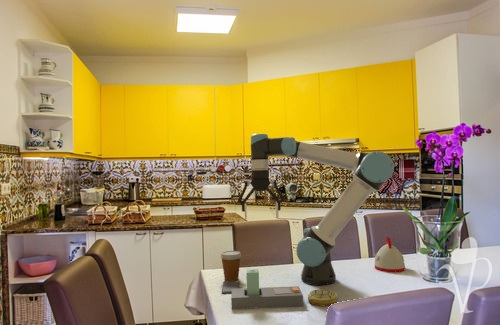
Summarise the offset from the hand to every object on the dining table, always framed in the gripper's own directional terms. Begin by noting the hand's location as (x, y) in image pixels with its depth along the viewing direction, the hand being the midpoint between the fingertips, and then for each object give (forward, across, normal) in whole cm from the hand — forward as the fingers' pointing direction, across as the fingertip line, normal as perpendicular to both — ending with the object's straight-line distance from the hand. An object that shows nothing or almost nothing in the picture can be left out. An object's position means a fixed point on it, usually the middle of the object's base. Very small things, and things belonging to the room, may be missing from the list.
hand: (261, 218), depth 155 cm
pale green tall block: (+29, +5, +20) cm, 35 cm away
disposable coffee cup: (+29, +14, -11) cm, 34 cm away
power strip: (+29, 0, +20) cm, 35 cm away
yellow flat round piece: (+29, -21, +21) cm, 42 cm away
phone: (+29, +14, +2) cm, 33 cm away
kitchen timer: (+29, -63, -19) cm, 72 cm away
